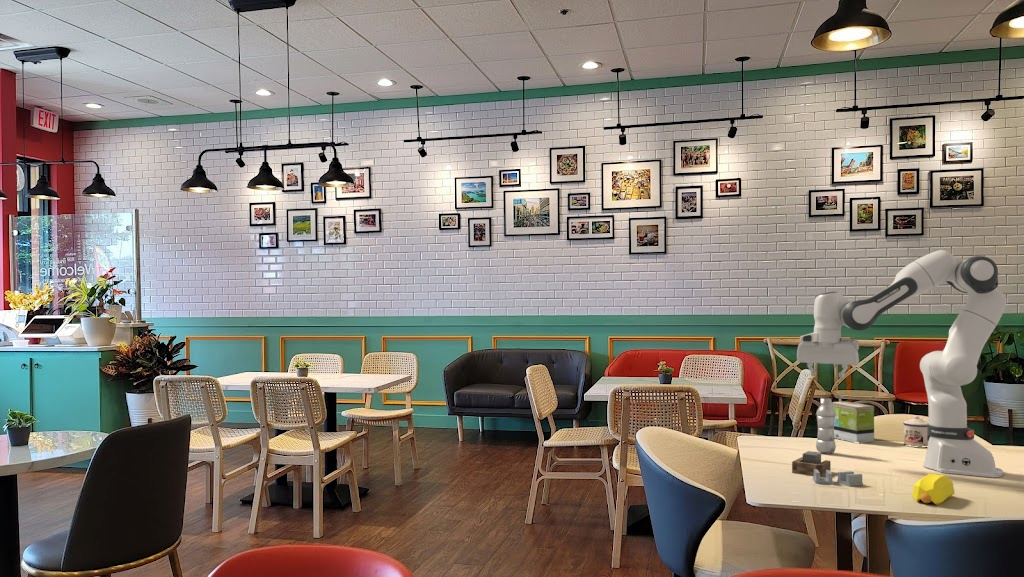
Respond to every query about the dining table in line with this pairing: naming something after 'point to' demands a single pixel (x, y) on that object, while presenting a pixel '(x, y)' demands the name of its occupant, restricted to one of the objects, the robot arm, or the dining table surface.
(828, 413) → the open metal bottle
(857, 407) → the tea box
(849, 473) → the clip
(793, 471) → the holder
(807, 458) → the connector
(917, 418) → the teacup with lid
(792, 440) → the dining table surface
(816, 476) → the clip
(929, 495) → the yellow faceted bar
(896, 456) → the dining table surface
